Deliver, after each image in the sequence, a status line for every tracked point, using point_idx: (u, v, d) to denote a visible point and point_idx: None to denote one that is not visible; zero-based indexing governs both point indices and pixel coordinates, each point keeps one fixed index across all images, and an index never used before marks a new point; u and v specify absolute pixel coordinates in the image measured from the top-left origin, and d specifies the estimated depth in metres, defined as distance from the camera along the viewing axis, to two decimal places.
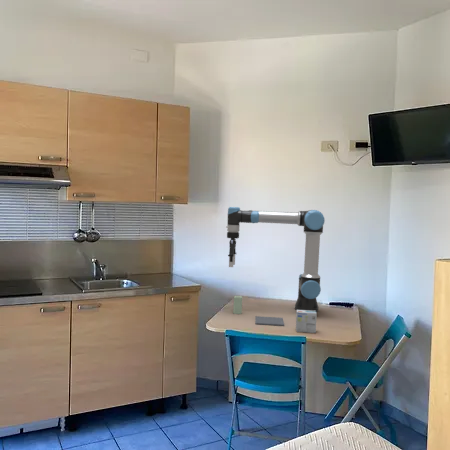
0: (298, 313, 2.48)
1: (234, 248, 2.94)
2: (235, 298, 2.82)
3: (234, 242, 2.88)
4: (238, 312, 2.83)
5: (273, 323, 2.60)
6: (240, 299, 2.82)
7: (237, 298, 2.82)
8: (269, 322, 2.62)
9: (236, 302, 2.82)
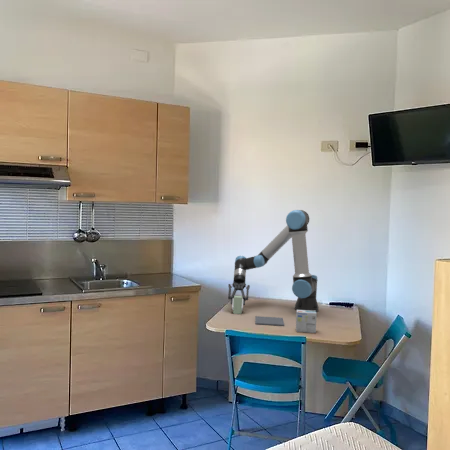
0: (298, 313, 2.48)
1: (241, 291, 2.89)
2: (235, 298, 2.82)
3: (236, 284, 2.92)
4: (238, 312, 2.83)
5: (273, 323, 2.60)
6: (240, 299, 2.82)
7: (237, 298, 2.82)
8: (269, 322, 2.62)
9: (236, 302, 2.82)
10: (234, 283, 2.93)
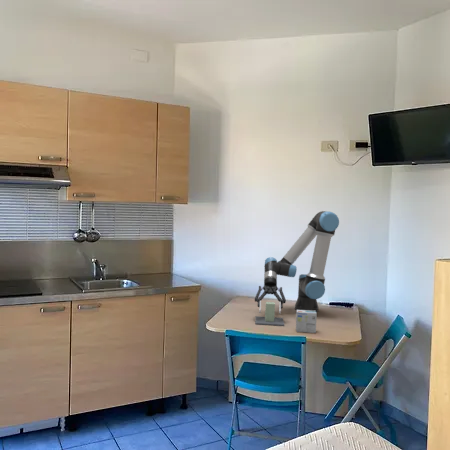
0: (298, 313, 2.48)
1: (276, 295, 2.71)
2: (268, 305, 2.64)
3: None
4: (271, 319, 2.64)
5: (273, 323, 2.60)
6: (273, 306, 2.64)
7: (269, 304, 2.64)
8: (269, 322, 2.62)
9: (268, 309, 2.64)
10: (265, 286, 2.75)
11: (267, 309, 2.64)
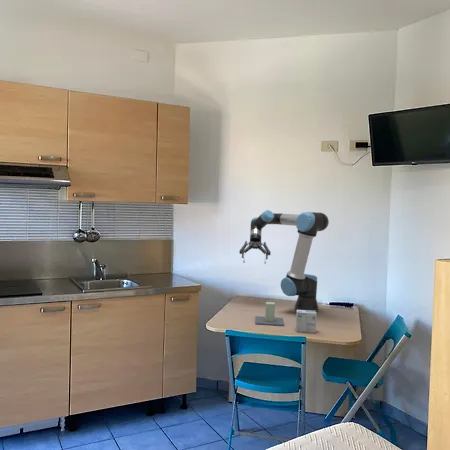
0: (298, 313, 2.47)
1: (261, 248, 3.05)
2: (268, 305, 2.64)
3: None
4: (271, 319, 2.64)
5: (273, 323, 2.60)
6: (273, 306, 2.64)
7: (269, 304, 2.64)
8: (269, 322, 2.62)
9: (268, 309, 2.64)
10: (251, 242, 3.09)
11: (267, 309, 2.64)
